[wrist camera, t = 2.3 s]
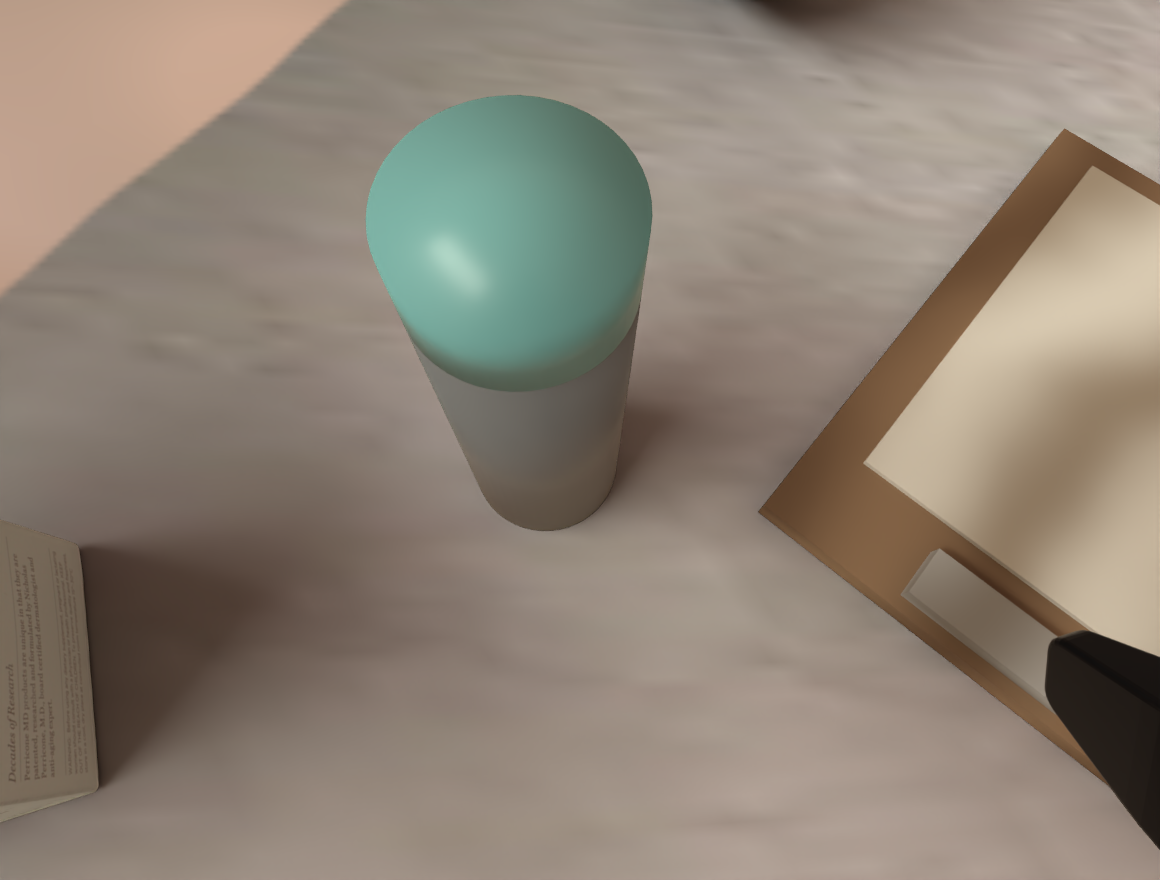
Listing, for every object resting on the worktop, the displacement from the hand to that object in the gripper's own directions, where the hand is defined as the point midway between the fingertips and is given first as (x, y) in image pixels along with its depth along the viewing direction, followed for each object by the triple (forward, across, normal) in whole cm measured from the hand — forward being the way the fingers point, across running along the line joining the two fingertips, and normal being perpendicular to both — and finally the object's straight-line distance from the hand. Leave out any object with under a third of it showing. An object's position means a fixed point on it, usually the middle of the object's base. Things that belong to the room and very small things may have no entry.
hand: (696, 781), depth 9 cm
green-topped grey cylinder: (+15, 0, +4) cm, 16 cm away
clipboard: (+12, -17, +7) cm, 22 cm away
